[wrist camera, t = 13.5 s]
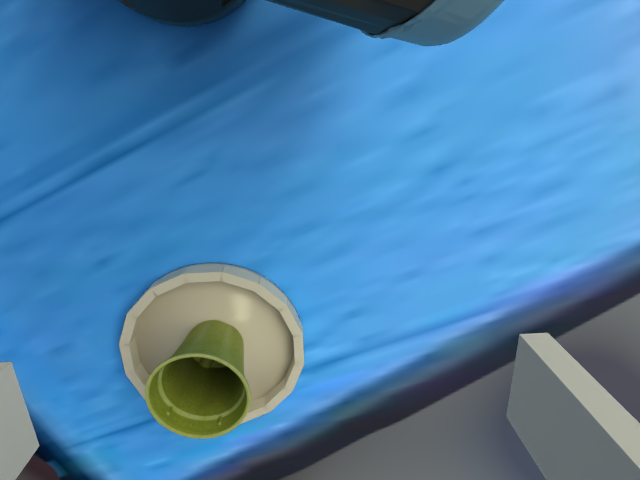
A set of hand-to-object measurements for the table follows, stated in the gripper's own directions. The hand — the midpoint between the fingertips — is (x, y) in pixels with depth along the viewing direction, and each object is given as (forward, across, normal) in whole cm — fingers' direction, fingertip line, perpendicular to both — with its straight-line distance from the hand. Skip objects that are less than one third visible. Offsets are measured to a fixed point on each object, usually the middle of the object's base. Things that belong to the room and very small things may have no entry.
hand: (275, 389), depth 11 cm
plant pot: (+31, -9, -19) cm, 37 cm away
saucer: (+32, -9, -19) cm, 38 cm away
